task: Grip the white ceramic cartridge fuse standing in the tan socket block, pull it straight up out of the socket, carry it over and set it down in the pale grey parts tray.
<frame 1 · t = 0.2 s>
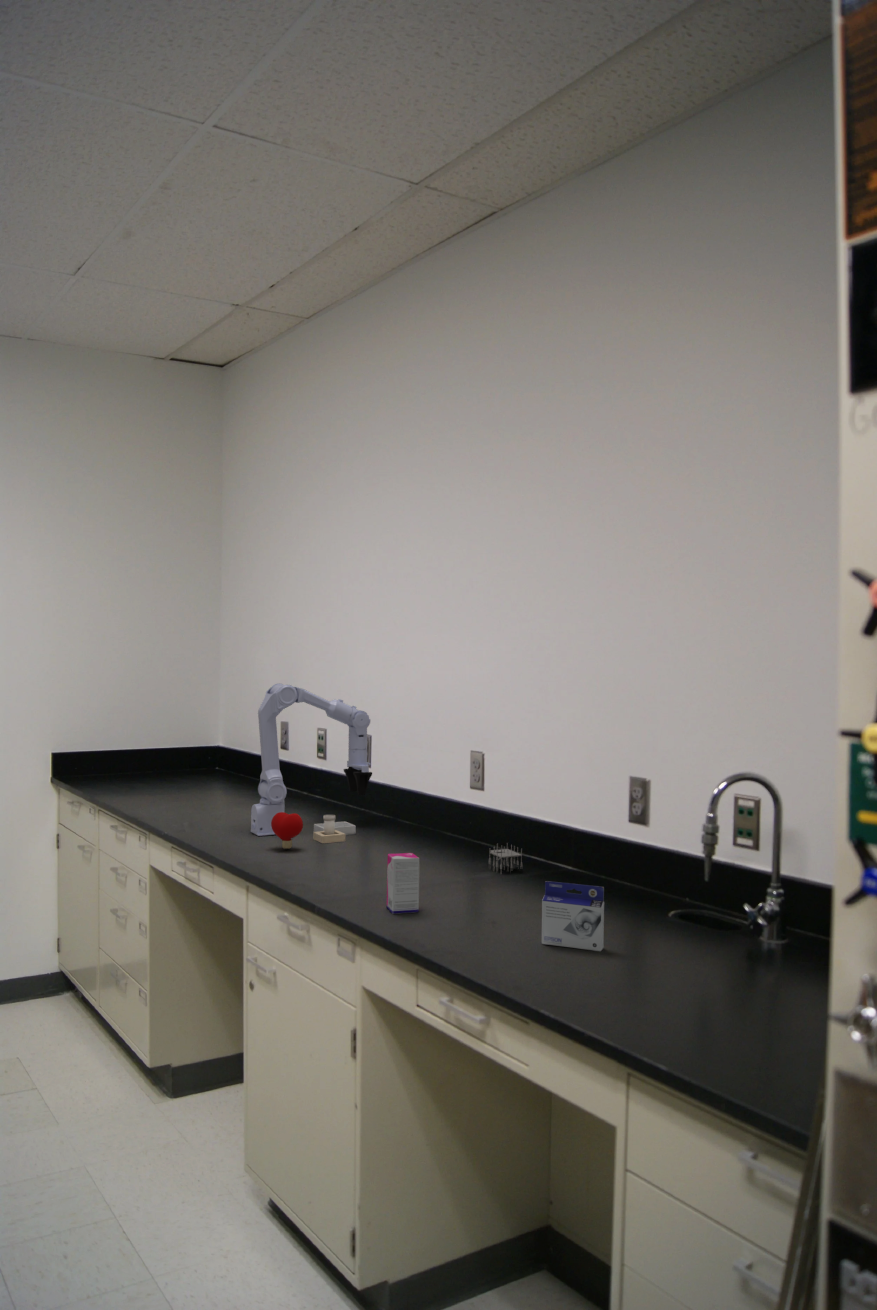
hand: (357, 793, 299), 10 cm above the counter, fingers open, 7 cm apart
building frame: (504, 871, 241), on the counter
socket block: (329, 840, 277), on the counter
fuse: (329, 827, 277), in the socket block
parts tray: (334, 833, 286), on the counter
ink box: (572, 948, 180), on the counter
red heart figure: (287, 850, 263), on the counter
supplement box: (402, 910, 204), on the counter
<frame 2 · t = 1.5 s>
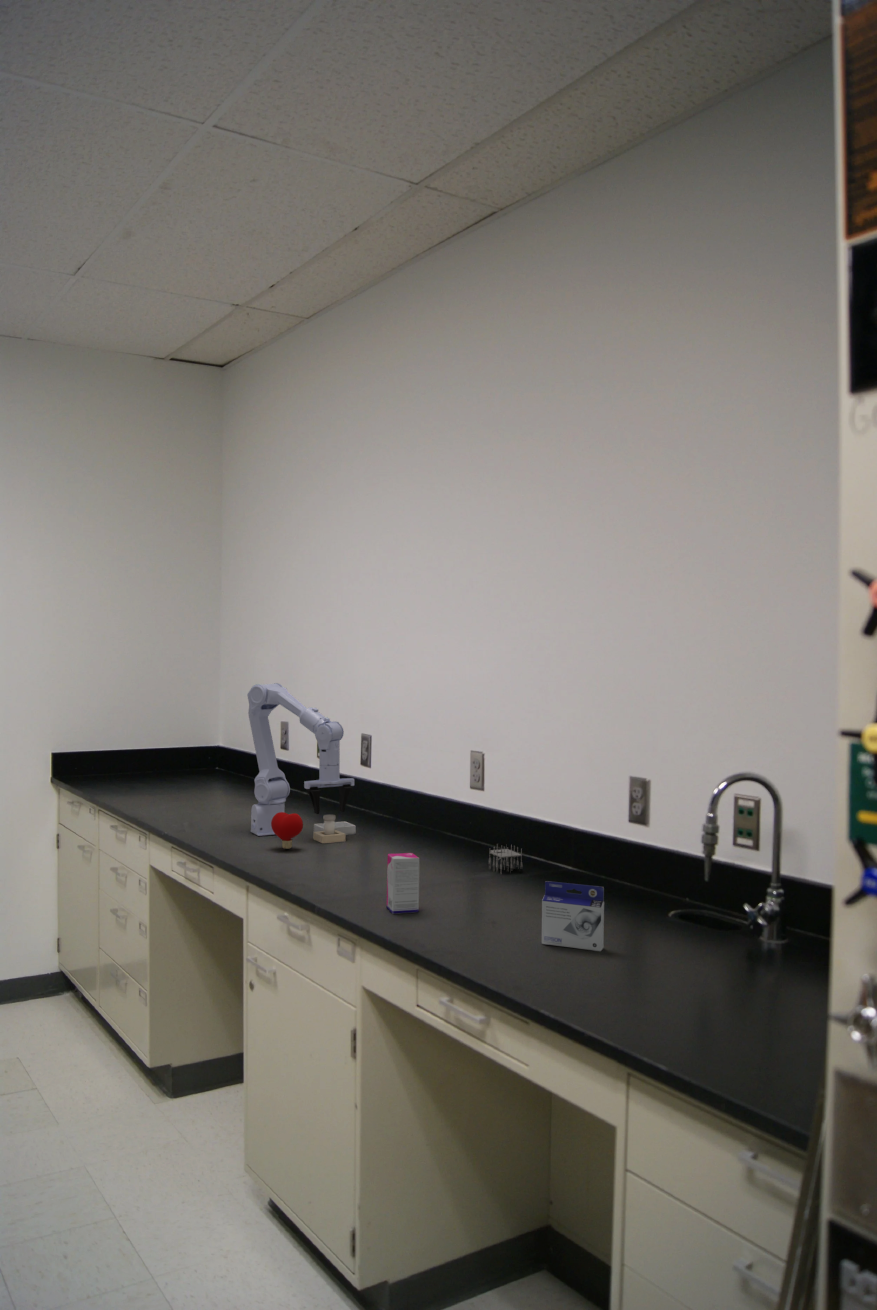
hand: (329, 812, 277), 8 cm above the counter, fingers open, 7 cm apart
nothing on the counter moved.
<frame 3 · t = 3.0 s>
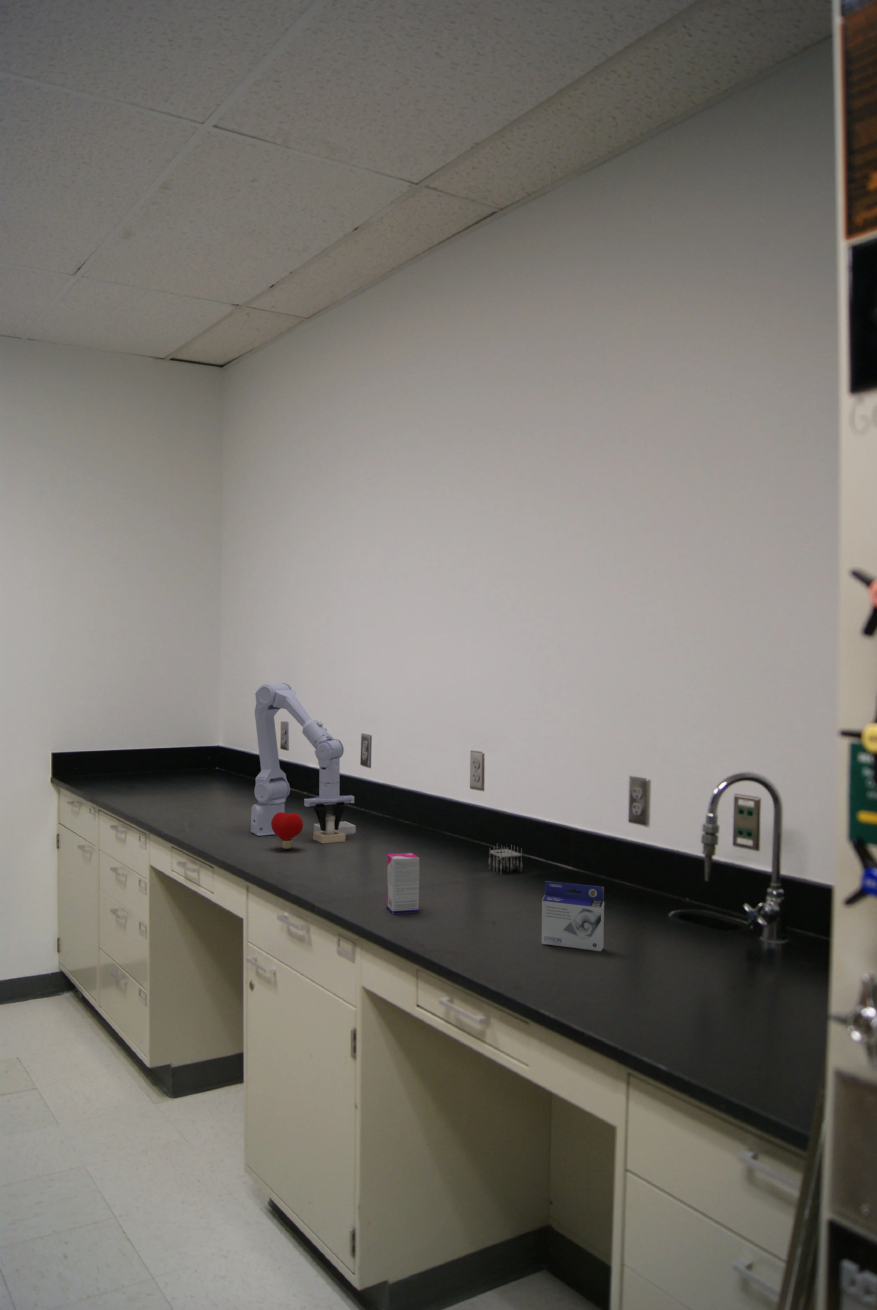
hand: (329, 829, 277), 3 cm above the counter, fingers closed on fuse, 3 cm apart
fuse: (329, 827, 277), in the socket block, touching gripper
everything else where it was.
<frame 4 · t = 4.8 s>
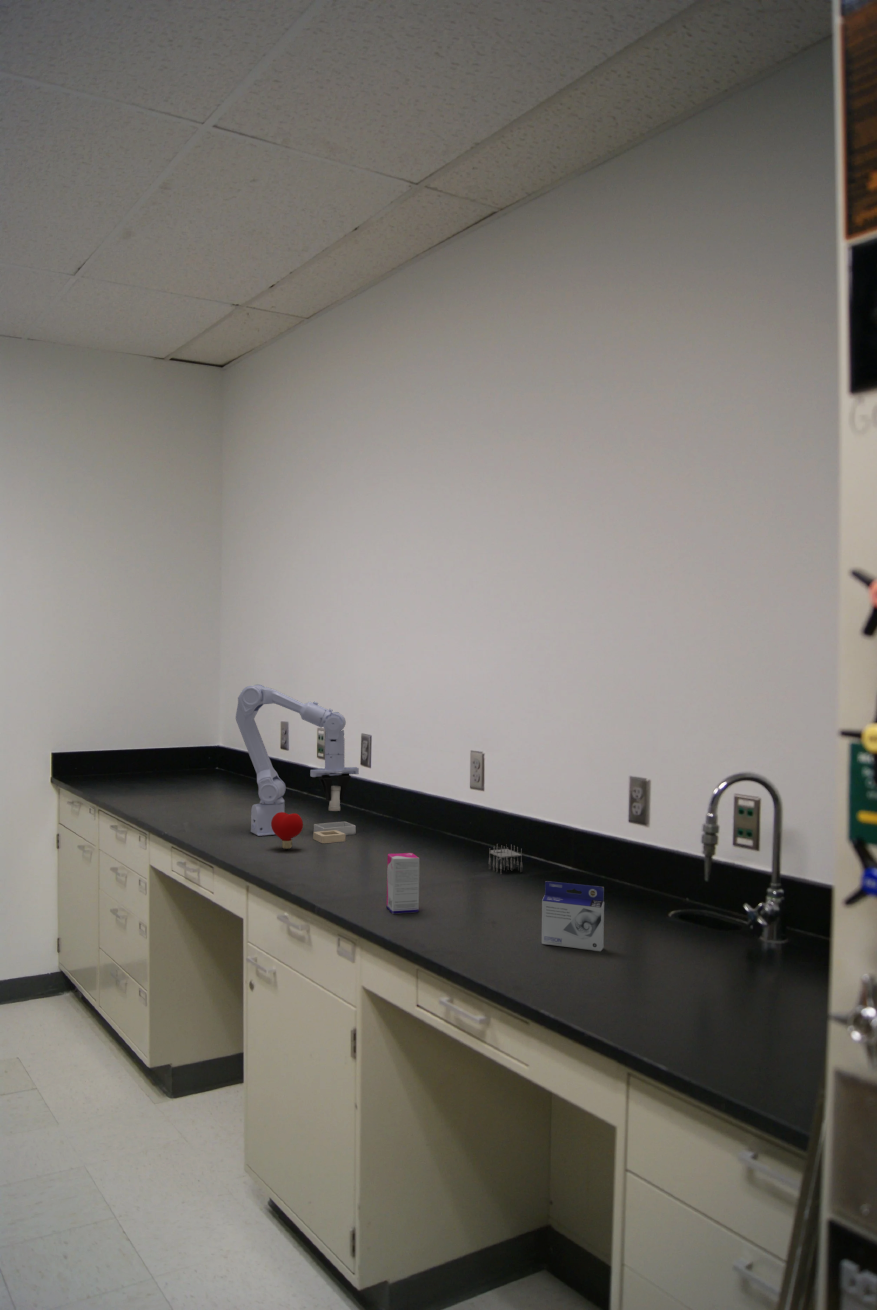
hand: (334, 800, 286), 10 cm above the counter, fingers closed on fuse, 3 cm apart
fuse: (334, 798, 286), point 10 cm above the counter, touching gripper
everything else where it was.
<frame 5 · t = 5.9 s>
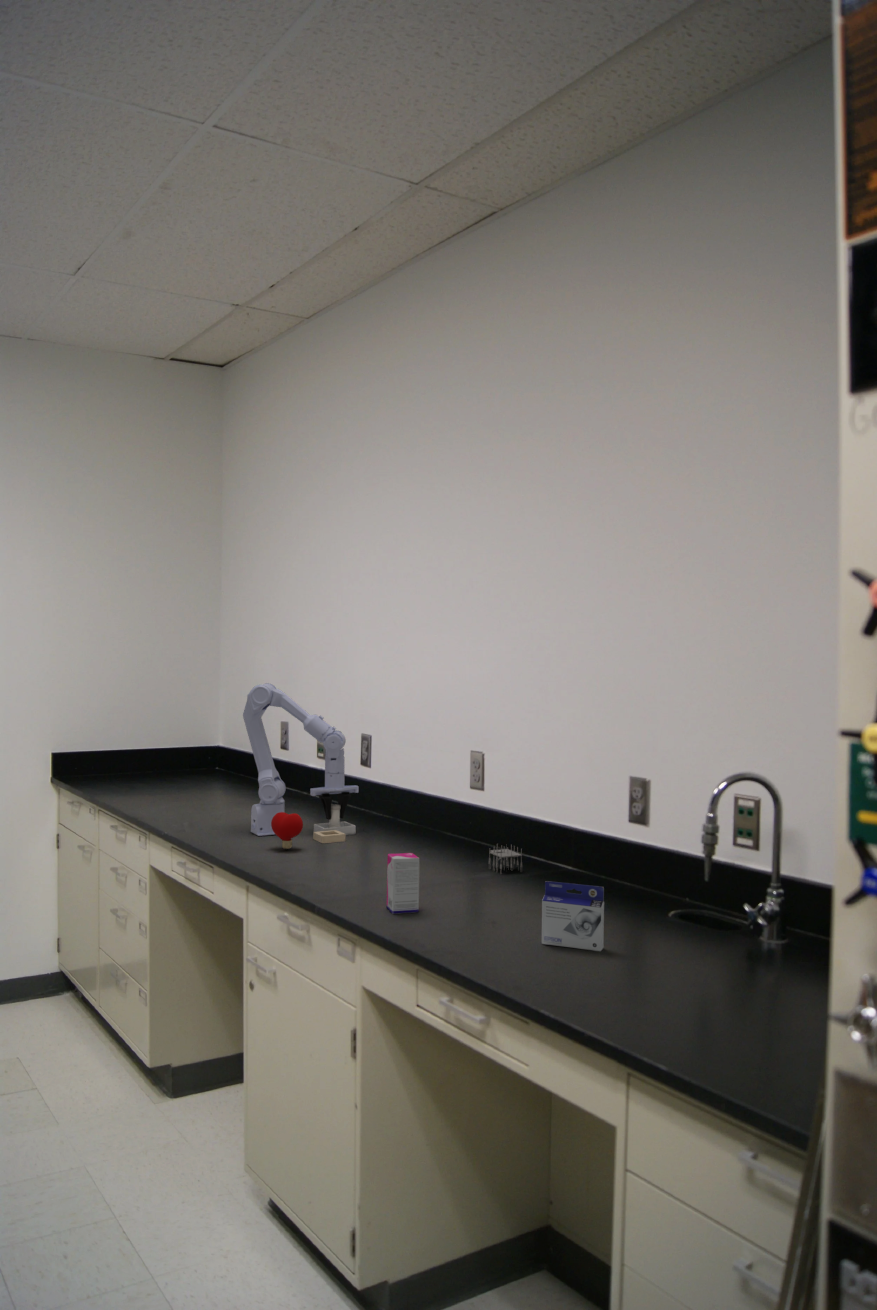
hand: (334, 818, 286), 4 cm above the counter, fingers closed on fuse, 3 cm apart
fuse: (334, 816, 286), point 5 cm above the counter, touching gripper
everything else where it was.
when the fingers open (4 cm above the counter, at t = 6.5 s): fuse stays where it is, resting on parts tray.
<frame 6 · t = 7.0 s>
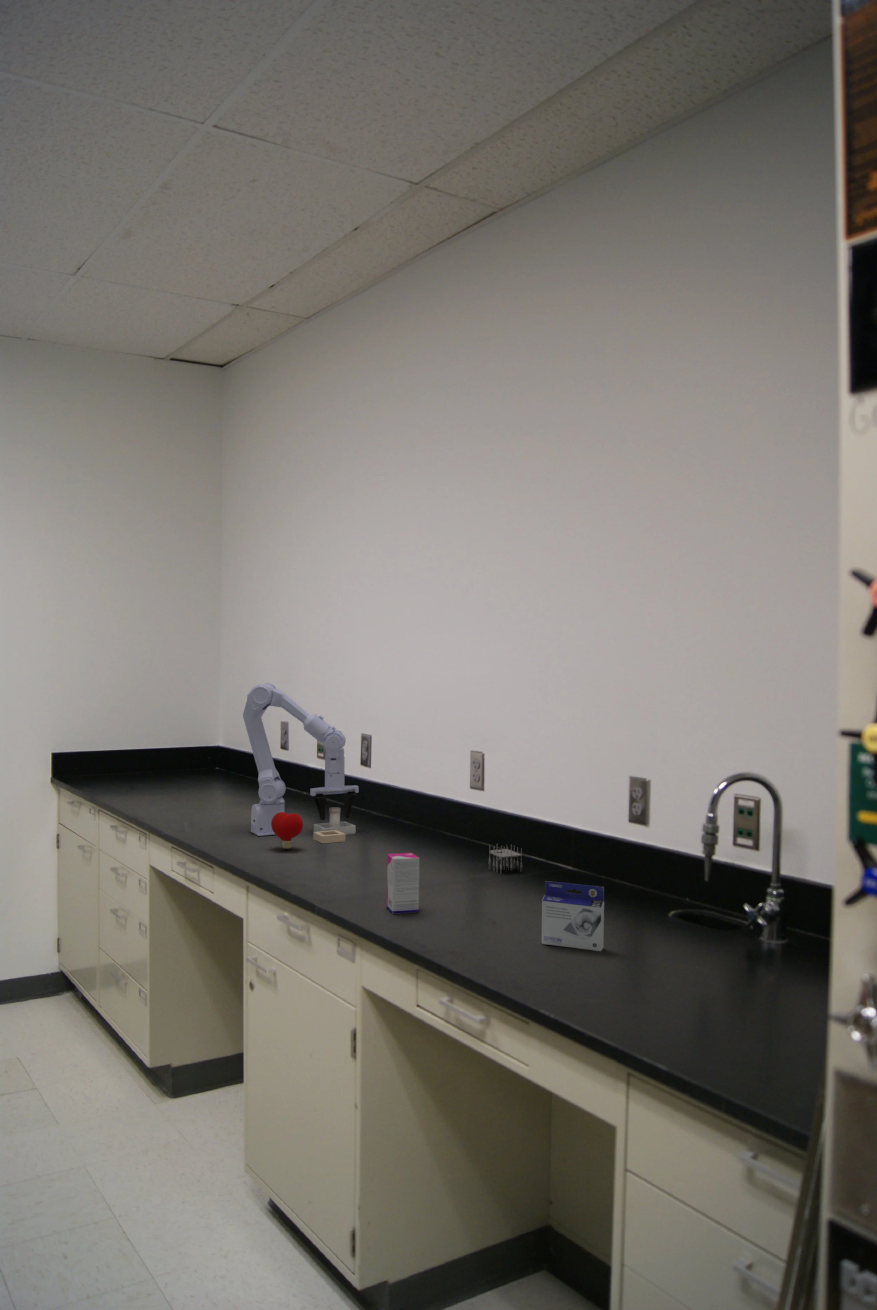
hand: (334, 818, 286), 4 cm above the counter, fingers open, 7 cm apart
fuse: (334, 820, 286), in the parts tray
everything else where it was.
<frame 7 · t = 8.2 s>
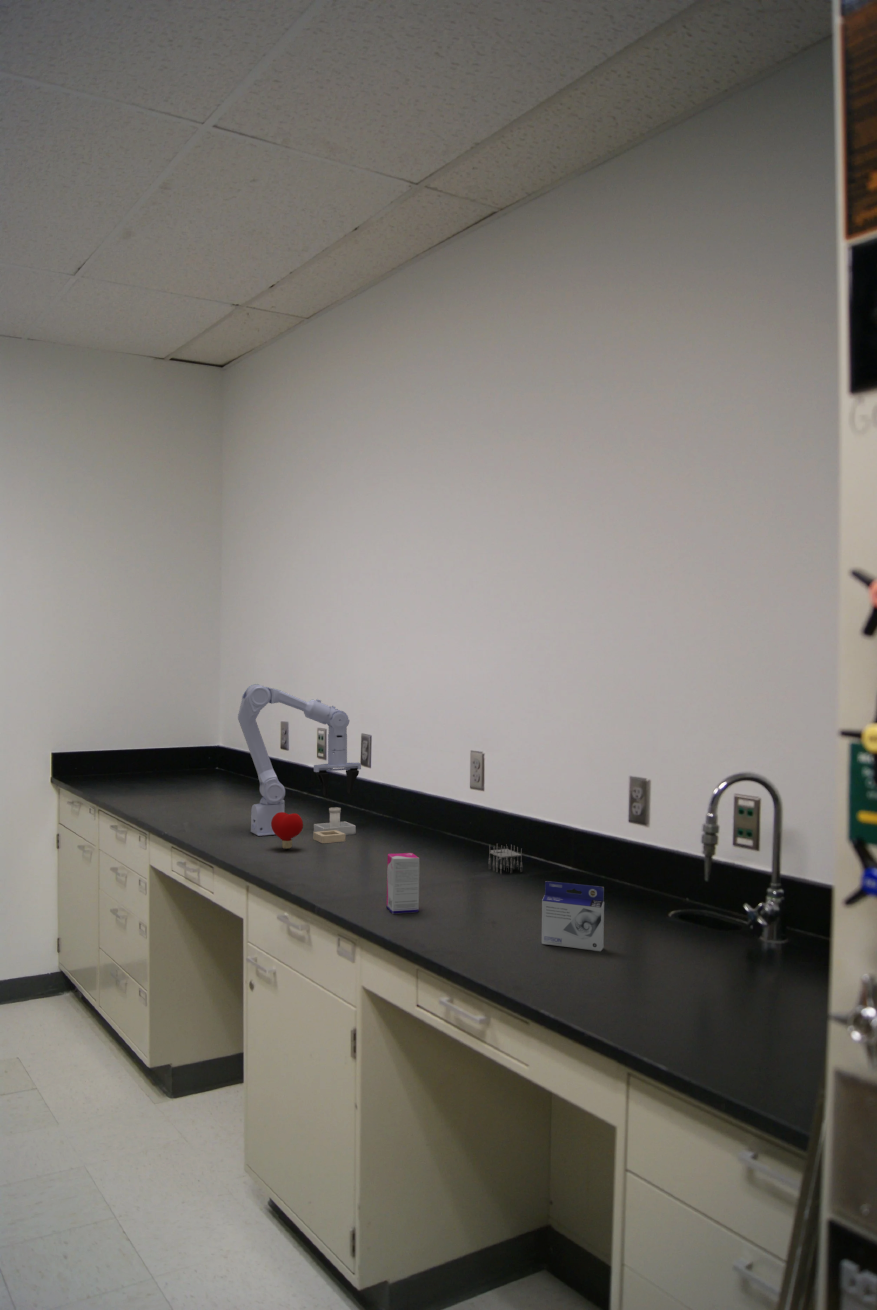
hand: (337, 794, 294), 10 cm above the counter, fingers open, 7 cm apart
nothing on the counter moved.
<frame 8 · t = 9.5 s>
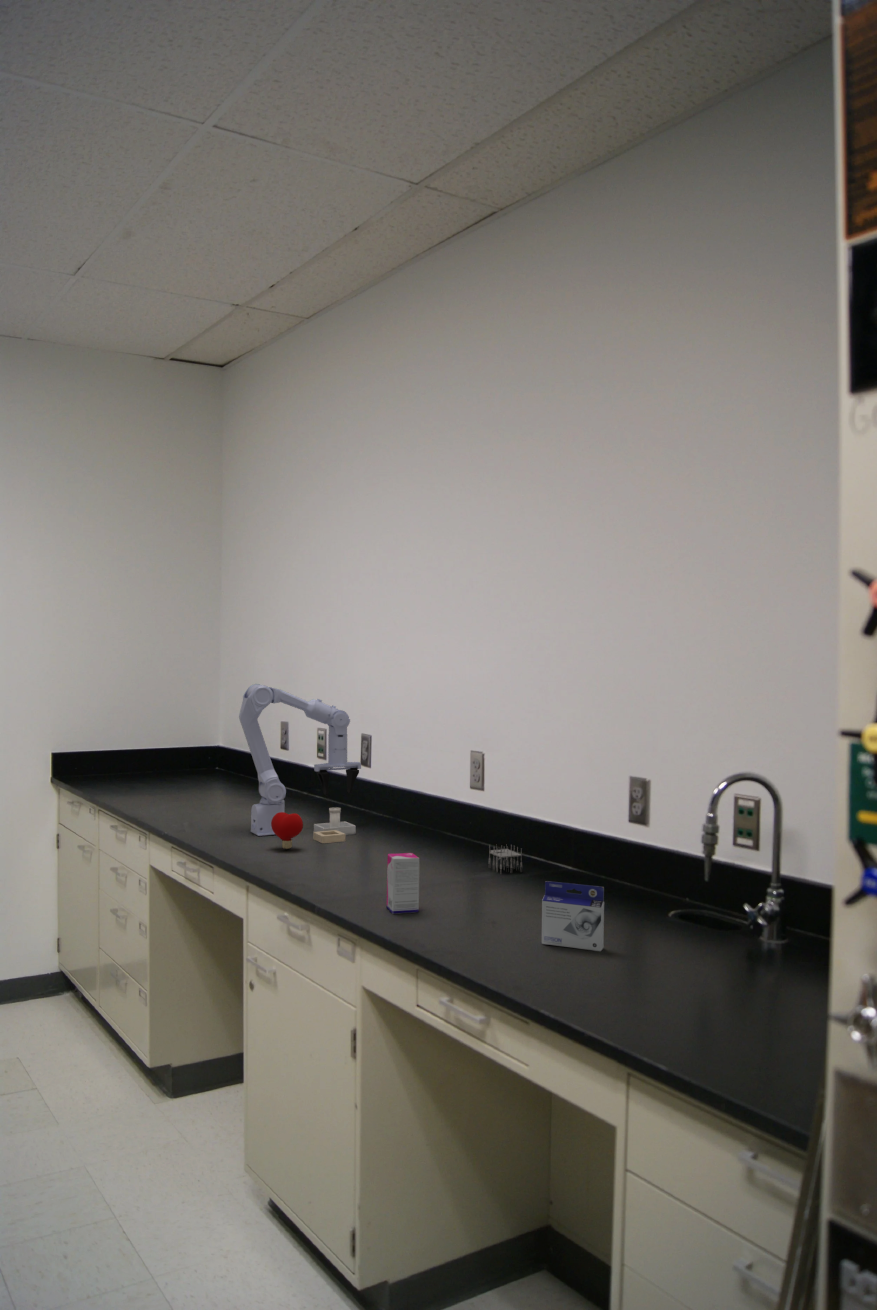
hand: (337, 793, 295), 10 cm above the counter, fingers open, 7 cm apart
nothing on the counter moved.
at the end: fuse inside the target area on the parts tray (0.3 cm from its centre), point 4.0 cm above the parts tray's base; fuse touching parts tray; the gripper is holding nothing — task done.
